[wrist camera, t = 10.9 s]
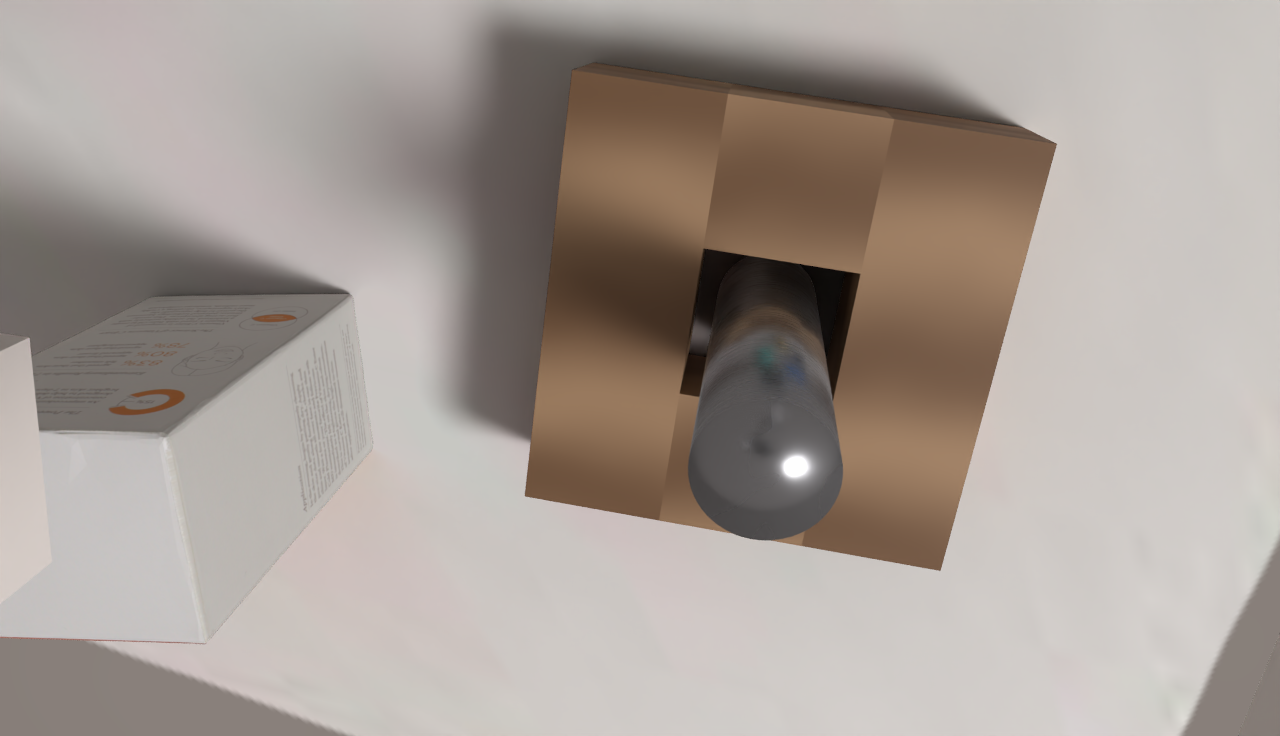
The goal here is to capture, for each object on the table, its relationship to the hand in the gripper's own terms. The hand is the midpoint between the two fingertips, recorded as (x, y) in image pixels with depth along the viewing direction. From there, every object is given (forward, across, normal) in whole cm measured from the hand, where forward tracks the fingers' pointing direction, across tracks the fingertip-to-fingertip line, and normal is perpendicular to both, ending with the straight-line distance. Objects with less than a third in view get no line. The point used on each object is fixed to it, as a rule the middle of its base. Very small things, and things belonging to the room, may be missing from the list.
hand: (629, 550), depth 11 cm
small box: (+26, -16, -10) cm, 32 cm away
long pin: (+26, +2, -5) cm, 26 cm away
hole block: (+26, +2, -5) cm, 26 cm away
